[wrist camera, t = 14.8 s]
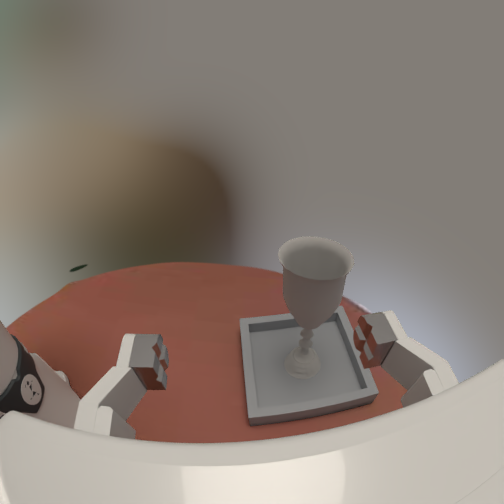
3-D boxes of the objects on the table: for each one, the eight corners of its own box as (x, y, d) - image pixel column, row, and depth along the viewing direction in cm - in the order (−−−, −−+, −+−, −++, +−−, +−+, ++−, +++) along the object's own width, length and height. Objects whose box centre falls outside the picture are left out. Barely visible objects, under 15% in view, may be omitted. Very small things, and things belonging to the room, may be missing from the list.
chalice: (266, 366, 35) (262, 258, 25) (295, 336, 39) (303, 229, 29) (309, 394, 31) (332, 291, 21) (337, 360, 35) (365, 253, 25)
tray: (250, 425, 29) (248, 417, 27) (241, 331, 42) (239, 318, 40) (371, 402, 30) (378, 392, 28) (339, 318, 43) (342, 305, 41)
